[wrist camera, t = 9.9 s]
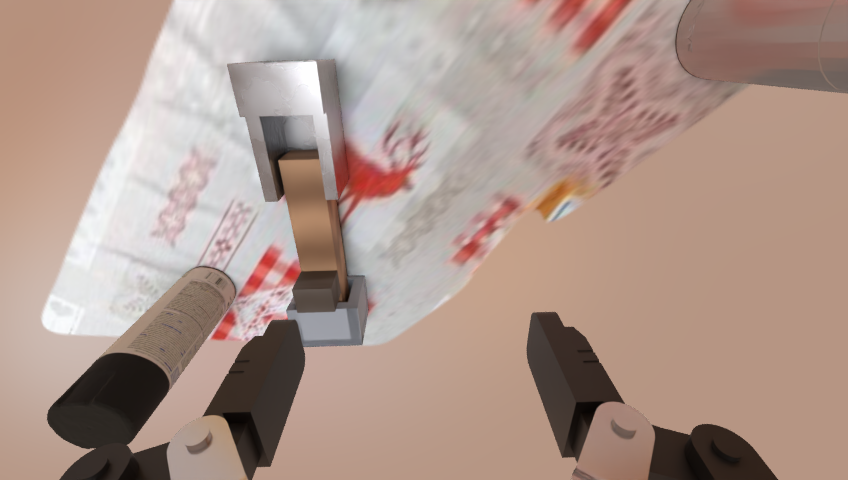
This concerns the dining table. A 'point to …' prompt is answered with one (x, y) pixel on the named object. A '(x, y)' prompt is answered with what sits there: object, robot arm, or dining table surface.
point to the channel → (292, 118)
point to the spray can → (142, 363)
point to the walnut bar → (314, 234)
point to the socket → (335, 319)
